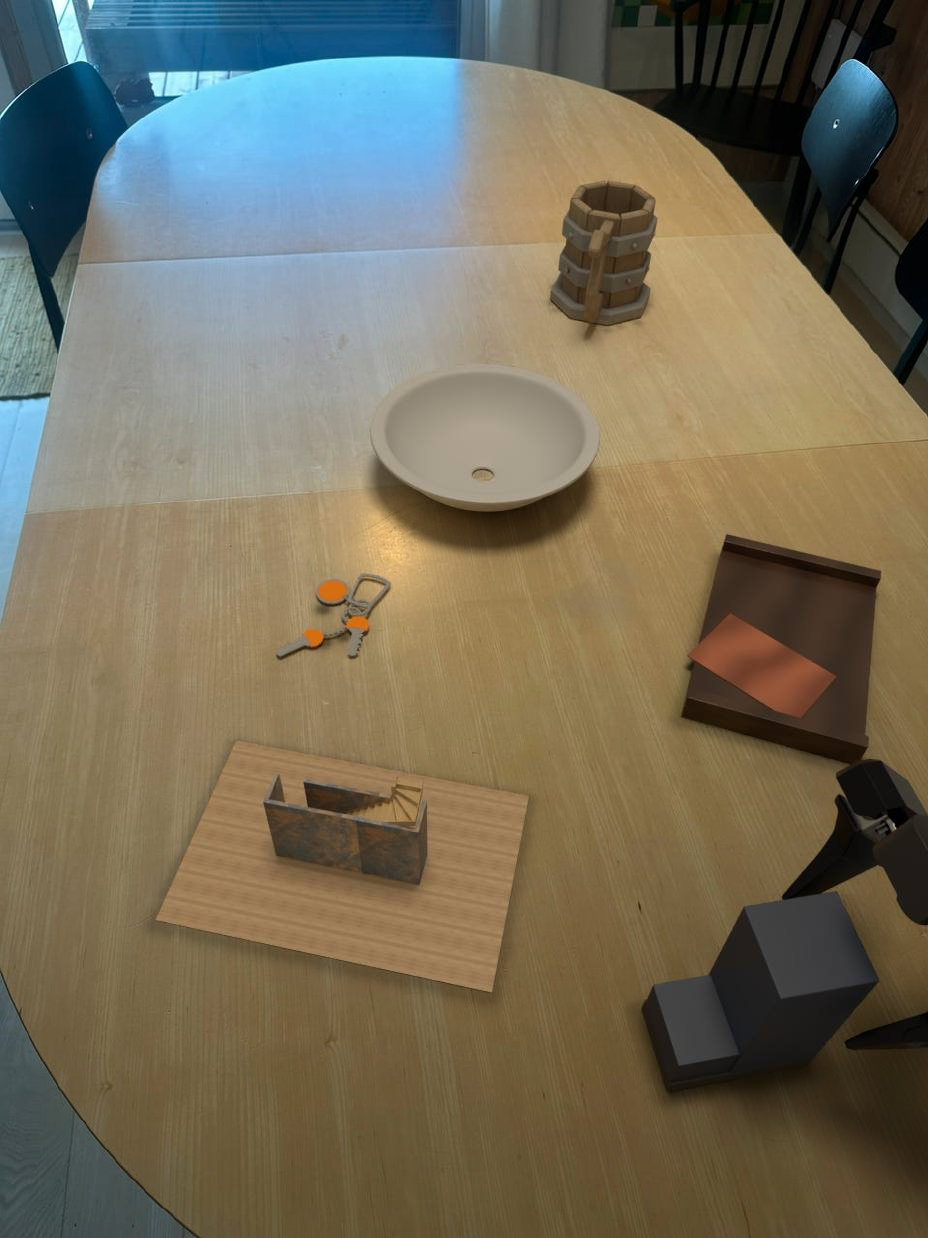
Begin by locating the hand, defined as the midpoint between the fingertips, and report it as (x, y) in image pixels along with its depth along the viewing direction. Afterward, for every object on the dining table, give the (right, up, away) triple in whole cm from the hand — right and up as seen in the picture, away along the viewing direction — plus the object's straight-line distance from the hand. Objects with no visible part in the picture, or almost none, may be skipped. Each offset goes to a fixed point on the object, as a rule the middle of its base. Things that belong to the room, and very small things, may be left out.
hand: (814, 970), depth 60 cm
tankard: (-4, +63, +70) cm, 94 cm away
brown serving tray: (+8, +19, +30) cm, 37 cm away
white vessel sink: (-20, +37, +46) cm, 63 cm away
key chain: (-33, +21, +31) cm, 51 cm away
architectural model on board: (-30, +3, +15) cm, 34 cm away
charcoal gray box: (-4, -7, +6) cm, 10 cm away
